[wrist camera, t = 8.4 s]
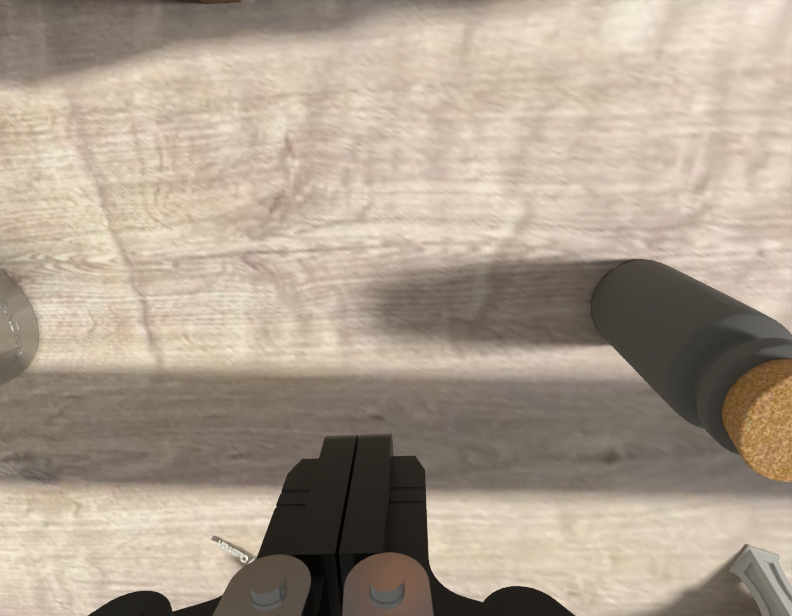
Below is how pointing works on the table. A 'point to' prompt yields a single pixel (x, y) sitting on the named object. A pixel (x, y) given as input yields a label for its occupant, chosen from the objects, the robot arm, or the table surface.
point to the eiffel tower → (764, 580)
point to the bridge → (219, 1)
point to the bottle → (704, 358)
